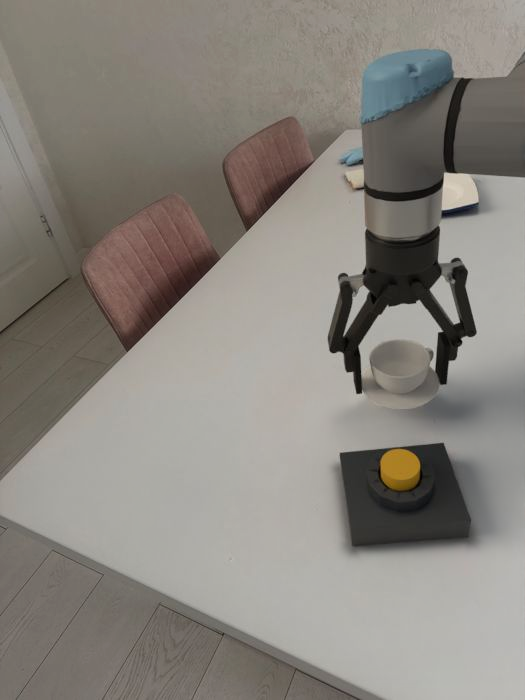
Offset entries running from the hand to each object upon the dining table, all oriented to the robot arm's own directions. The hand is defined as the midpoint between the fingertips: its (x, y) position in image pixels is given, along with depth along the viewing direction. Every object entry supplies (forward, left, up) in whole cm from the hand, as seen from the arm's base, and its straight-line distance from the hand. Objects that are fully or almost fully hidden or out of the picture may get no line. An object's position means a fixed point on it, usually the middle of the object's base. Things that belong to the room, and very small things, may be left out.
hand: (398, 382), depth 65 cm
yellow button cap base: (+3, +15, -4) cm, 16 cm away
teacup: (0, 0, 0) cm, 0 cm away
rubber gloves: (-19, -88, -4) cm, 90 cm away
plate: (-19, -62, -4) cm, 65 cm away
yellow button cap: (+3, +15, +1) cm, 15 cm away
